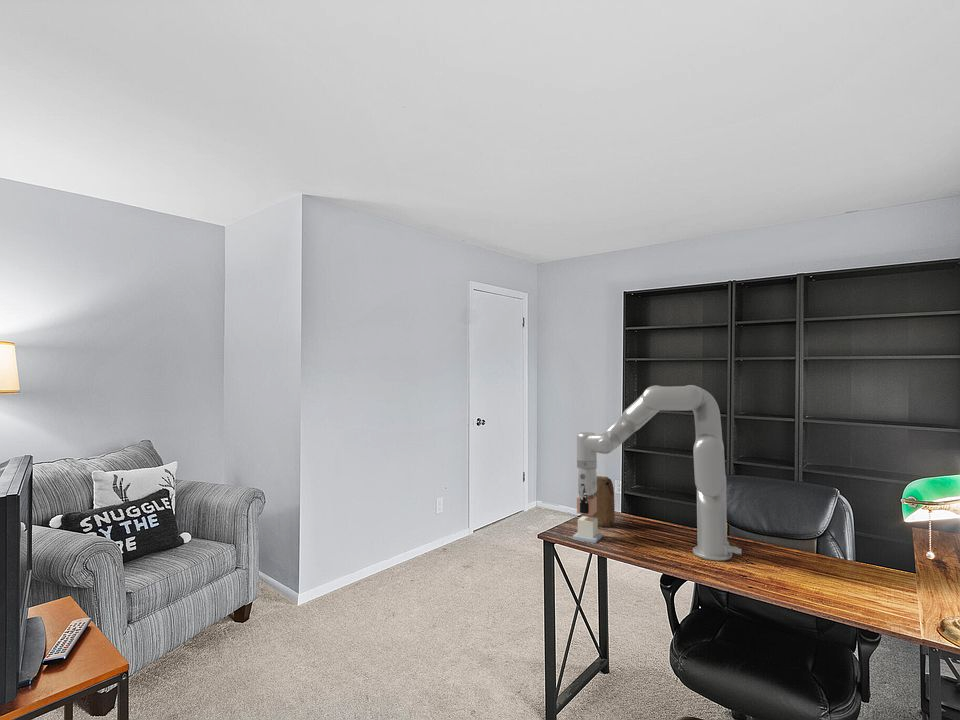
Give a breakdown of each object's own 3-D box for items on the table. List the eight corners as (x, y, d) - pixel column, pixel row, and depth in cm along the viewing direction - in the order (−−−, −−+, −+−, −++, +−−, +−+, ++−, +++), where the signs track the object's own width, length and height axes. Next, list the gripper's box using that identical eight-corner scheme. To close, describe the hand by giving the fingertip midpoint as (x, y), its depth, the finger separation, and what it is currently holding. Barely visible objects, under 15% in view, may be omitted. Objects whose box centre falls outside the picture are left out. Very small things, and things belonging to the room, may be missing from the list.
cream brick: (597, 533, 201) (597, 518, 201) (592, 537, 196) (592, 522, 196) (582, 531, 204) (582, 515, 204) (577, 535, 199) (577, 519, 199)
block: (586, 525, 216) (586, 477, 216) (591, 520, 222) (590, 474, 223) (612, 529, 211) (612, 479, 211) (616, 524, 217) (616, 476, 218)
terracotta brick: (596, 511, 201) (596, 496, 202) (592, 515, 196) (592, 499, 196) (581, 509, 204) (581, 494, 204) (576, 513, 199) (576, 497, 199)
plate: (602, 536, 202) (602, 533, 202) (595, 543, 194) (595, 539, 194) (580, 532, 206) (580, 529, 206) (572, 539, 198) (572, 536, 198)
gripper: (589, 469, 191) (589, 517, 191) (602, 461, 206) (602, 507, 206) (570, 467, 195) (570, 515, 195) (584, 460, 210) (584, 504, 210)
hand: (587, 510), depth 200 cm, fingers closed on terracotta brick, 6 cm apart
